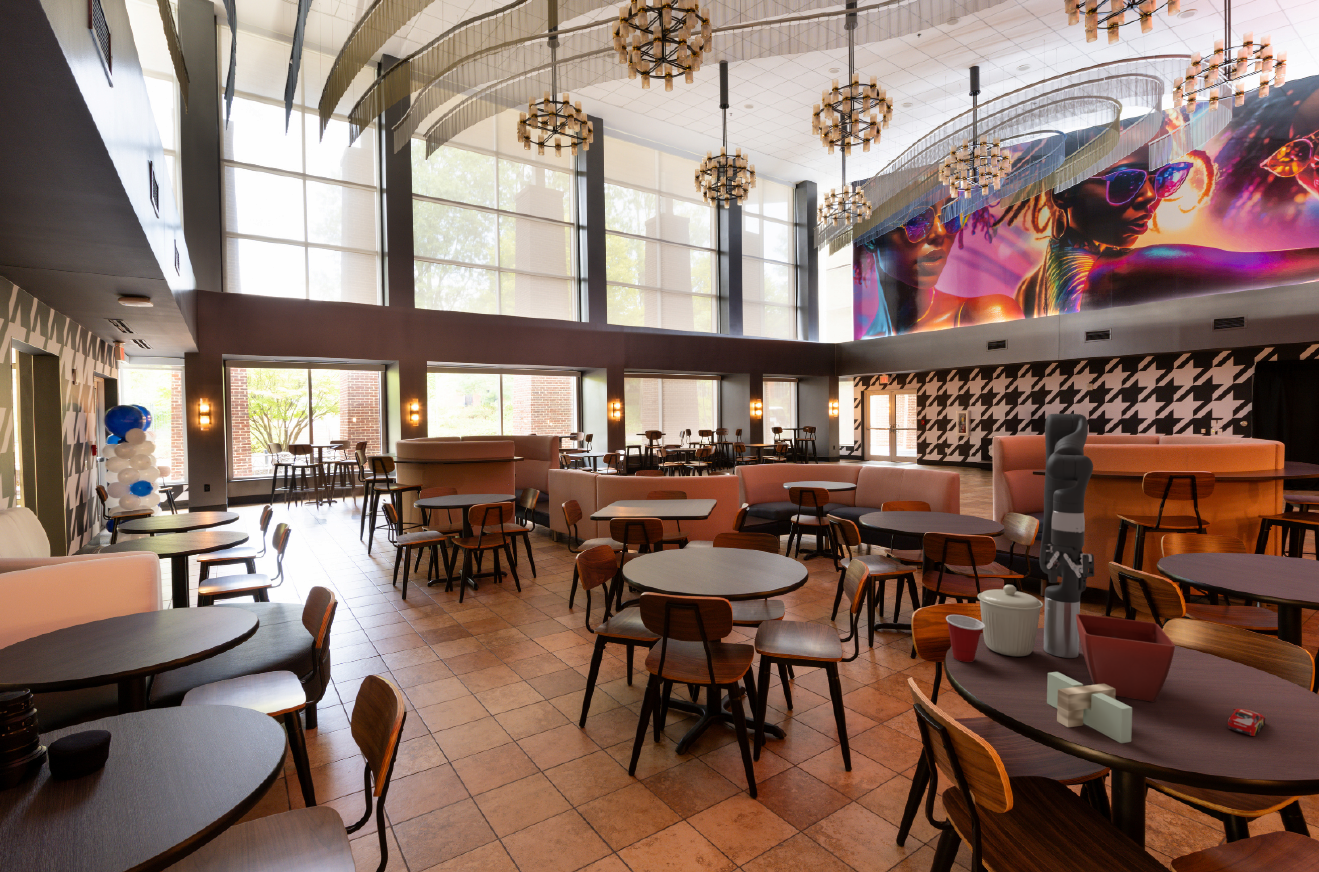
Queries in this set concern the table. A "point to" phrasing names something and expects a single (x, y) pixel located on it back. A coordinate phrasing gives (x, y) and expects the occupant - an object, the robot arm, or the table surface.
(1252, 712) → the race car
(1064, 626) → the robot arm
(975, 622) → the plastic cup
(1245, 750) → the table surface
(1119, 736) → the notched board
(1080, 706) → the slotted plate
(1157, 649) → the plant pot
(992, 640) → the canister
